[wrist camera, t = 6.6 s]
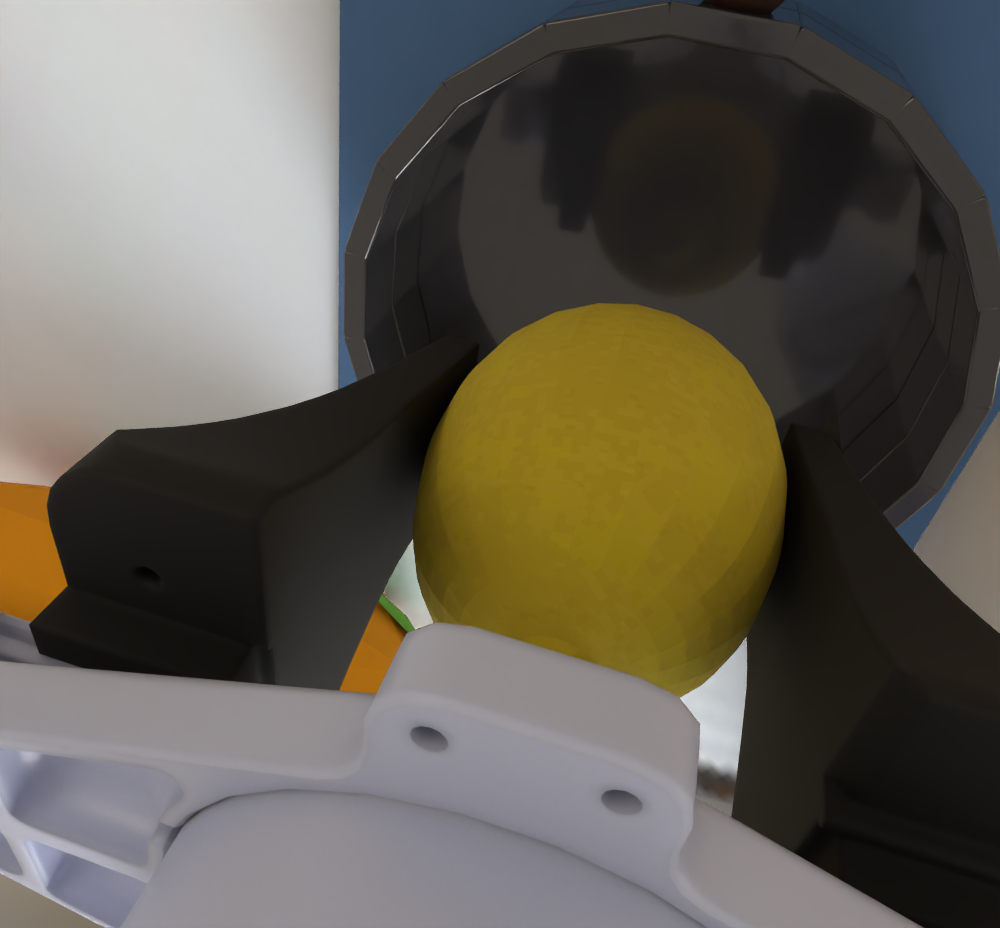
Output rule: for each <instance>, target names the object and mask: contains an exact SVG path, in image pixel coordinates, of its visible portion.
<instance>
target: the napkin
mask: <svg viewBox="0 0 1000 928" xmlns="http://www.w3.org/2000/svg"><path fill="white" fill-rule="evenodd" d="M576 1H578V0H340V125H339V382H338V389H340V388H343V387H345V386H347V385H349V384H352V383H354V382H356V381H357V378H356V375H355V372H354V369H353V365H352V362H351V359H350V356H349V353H348V349H347V346H346V343H345V336H344V252H345V247H346V244H347V241H348V238H349V236H350V233H351V230H352V227H353V224H354V222H355V219H356V216H357V213H358V210H359V207H360V205H361V202H362V199H363V196H364V193H365V191H366V188H367V185H368V182H369V179H370V177H371V174H372V171H373V168H374V165H375V163H376V162H377V160H378V158H379V157H380V156H381V154H382V153H383V152H384V151H385V150H386V148H387V147H388V146H389V145H390V144H391V142H392V141H393V140H394V139H395V137H396V136H397V135H398V134H399V133H400V131H401V130H402V129H403V128H404V127H405V125H406V124H407V123H408V122H409V121H410V119H411V118H412V117H413V116H414V115H415V113H416V112H417V111H418V110H419V109H420V107H421V106H422V105H423V104H424V102H425V101H426V100H427V99H428V98H429V96H430V95H431V94H432V93H433V92H434V90H435V89H436V88H437V87H438V86H439V84H440V83H442V82H443V81H444V80H445V79H446V78H448V77H449V76H451V75H453V74H454V73H456V72H458V71H459V70H461V69H463V68H464V67H466V66H467V65H469V64H471V63H472V62H474V61H476V60H477V59H479V58H481V57H482V56H484V55H486V54H487V53H489V52H490V51H492V50H494V49H495V48H497V47H499V46H501V45H502V44H504V43H506V42H507V41H509V40H511V39H513V38H514V37H516V36H518V35H520V34H521V33H523V32H525V31H526V30H528V29H530V28H532V27H533V26H535V25H537V24H538V23H540V22H542V21H544V20H545V19H547V18H549V17H551V16H552V15H554V14H556V13H557V12H559V11H561V10H563V9H564V8H566V7H568V6H570V5H571V4H573V3H575V2H576ZM796 1H797V2H798V1H801V2H802V3H804V4H806V5H807V6H809V7H810V8H812V9H814V10H815V11H817V12H818V13H820V14H822V15H823V16H825V17H828V18H829V19H831V20H832V21H834V22H836V23H837V24H839V25H840V26H842V27H843V28H845V29H846V30H848V31H850V32H851V33H853V34H854V35H856V36H857V37H859V38H860V39H862V40H864V41H865V42H867V43H868V44H870V45H872V46H873V47H875V48H876V49H878V50H880V51H881V52H883V53H884V54H886V55H888V56H889V58H890V59H891V60H893V61H894V63H895V64H896V65H897V67H898V68H899V69H900V71H901V72H902V74H903V75H904V76H905V78H906V79H907V81H908V82H909V83H910V85H911V86H912V88H913V89H914V90H915V92H916V93H917V94H918V96H919V97H920V99H921V100H922V101H923V103H924V104H925V106H926V107H927V108H928V110H929V111H930V113H931V114H932V115H933V117H934V118H935V119H936V121H937V122H938V124H939V125H940V126H941V128H942V129H943V131H944V132H945V133H946V135H947V136H948V138H949V139H950V140H951V142H952V143H953V145H954V146H955V148H956V149H957V151H958V152H959V154H960V155H961V157H962V158H963V160H964V161H965V163H966V164H967V166H968V167H969V169H970V170H971V172H972V173H973V175H974V176H975V178H976V179H977V181H978V182H979V184H980V185H981V187H982V188H983V190H984V191H985V195H986V196H987V198H988V201H989V206H990V211H991V215H992V220H993V224H994V229H995V233H996V238H997V242H998V247H999V251H1000V0H796ZM999 410H1000V369H999V374H998V379H997V385H996V390H995V395H994V401H993V405H992V407H991V411H990V412H989V414H988V416H987V417H986V419H985V420H984V422H983V424H982V425H981V427H980V429H979V430H978V432H977V433H976V435H975V437H974V438H973V440H972V442H971V443H970V445H969V446H968V448H967V450H966V451H965V453H964V455H963V456H962V458H961V459H960V461H959V463H958V464H957V466H956V468H955V469H954V471H953V472H952V474H951V476H950V477H949V479H948V481H947V482H946V484H945V485H944V487H943V489H942V490H941V491H939V493H938V495H936V496H935V497H934V498H933V499H932V500H930V501H929V502H928V503H927V504H926V505H925V506H923V507H922V508H921V509H920V510H919V511H917V512H916V513H915V514H914V515H913V516H911V517H910V518H909V519H908V520H907V521H905V522H904V523H903V524H902V525H901V526H899V527H898V528H897V529H896V531H897V532H898V533H899V535H900V536H901V537H902V538H903V539H904V541H905V542H906V543H907V544H908V546H909V547H910V548H911V549H912V550H913V548H914V547H915V545H916V543H917V542H918V540H919V539H920V537H921V535H922V534H923V532H924V531H925V529H926V527H927V526H928V524H929V522H930V521H931V519H932V518H933V516H934V514H935V513H936V511H937V510H938V508H939V506H940V505H941V503H942V502H943V500H944V498H945V497H946V495H947V494H948V492H949V490H950V489H951V487H952V486H953V484H954V482H955V481H956V479H957V478H958V476H959V474H960V473H961V471H962V470H963V468H964V466H965V465H966V463H967V462H968V460H969V458H970V457H971V455H972V453H973V452H974V450H975V449H976V447H977V445H978V444H979V442H980V441H981V439H982V437H983V436H984V434H985V433H986V431H987V429H988V428H989V426H990V425H991V423H992V421H993V420H994V418H995V417H996V415H997V413H998V412H999Z"/></svg>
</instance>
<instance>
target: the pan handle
mask: <svg viewBox="0 0 1000 928" xmlns="http://www.w3.org/2000/svg"><path fill="white" fill-rule="evenodd" d="M705 1H706V2H707V3H710V4H712V5H716V6H719V7H723V8H727V9H732V10H737V11H743V12H749V13H759V14H768V13H771V12H773V11H774V10H775V9H777V8H778V7H779V6H780V5H781V4H783V2H784V1H785V0H705Z"/></svg>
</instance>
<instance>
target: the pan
mask: <svg viewBox="0 0 1000 928" xmlns="http://www.w3.org/2000/svg"><path fill="white" fill-rule="evenodd" d="M597 303H610V304H638V305H642V306H645V307H649V308H653V309H656V310H660V311H664V312H667V313H671V314H675V315H677V316H679V317H680V318H682V319H684V320H686V321H688V322H689V323H691V324H693V325H695V326H697V327H698V328H700V329H702V330H704V331H706V332H707V333H709V334H710V335H712V336H713V337H714V338H715V339H716V340H717V341H718V342H719V343H720V344H722V345H723V346H724V347H725V348H726V349H727V350H728V351H729V352H730V353H731V354H732V355H733V356H734V357H736V358H737V359H738V360H739V361H740V362H741V363H742V364H743V365H744V367H745V368H746V370H747V372H748V373H749V375H750V376H751V378H752V380H753V381H754V383H755V384H756V386H757V388H758V389H759V391H760V393H761V394H762V396H763V397H764V399H765V401H766V402H767V404H768V405H769V407H770V410H771V413H772V415H773V418H774V421H775V425H776V429H777V433H778V437H779V441H780V445H782V443H783V440H784V438H785V436H786V433H787V431H788V429H789V427H790V424H791V423H794V424H798V425H802V426H806V427H810V428H814V429H818V430H822V431H825V432H828V433H829V435H830V436H831V437H832V439H833V440H834V442H835V443H836V445H837V446H838V448H839V449H840V451H841V452H842V454H843V456H844V457H845V459H846V460H847V462H848V463H849V465H850V466H851V468H852V469H853V471H854V472H855V474H856V476H857V477H858V479H859V480H860V482H861V483H862V485H863V486H864V487H865V489H866V490H867V492H868V493H869V495H870V496H871V498H872V499H873V500H874V502H875V503H876V505H877V506H878V507H879V509H880V510H881V511H882V513H883V514H884V515H885V517H886V518H887V519H888V521H889V522H890V523H891V525H892V526H893V527H894V528H895V530H896V529H897V528H898V527H899V526H901V525H902V524H903V523H904V522H905V521H907V520H908V519H909V518H910V517H911V516H913V515H914V514H915V513H916V512H917V511H919V510H920V509H921V508H922V507H923V506H925V505H926V504H927V503H928V502H929V501H930V500H932V499H933V498H934V497H935V496H936V495H938V493H939V491H941V490H942V489H943V487H944V485H945V484H946V482H947V481H948V479H949V477H950V476H951V474H952V472H953V471H954V469H955V468H956V466H957V464H958V463H959V461H960V459H961V458H962V456H963V455H964V453H965V451H966V450H967V448H968V446H969V445H970V443H971V442H972V440H973V438H974V437H975V435H976V433H977V432H978V430H979V429H980V427H981V425H982V424H983V422H984V420H985V419H986V417H987V416H988V414H989V412H990V411H991V407H992V405H993V401H994V395H995V390H996V385H997V379H998V374H999V369H1000V251H999V247H998V242H997V238H996V233H995V229H994V224H993V220H992V215H991V211H990V206H989V201H988V198H987V196H986V195H985V191H984V190H983V188H982V187H981V185H980V184H979V182H978V181H977V179H976V178H975V176H974V175H973V173H972V172H971V170H970V169H969V167H968V166H967V164H966V163H965V161H964V160H963V158H962V157H961V155H960V154H959V152H958V151H957V149H956V148H955V146H954V145H953V143H952V142H951V140H950V139H949V138H948V136H947V135H946V133H945V132H944V131H943V129H942V128H941V126H940V125H939V124H938V122H937V121H936V119H935V118H934V117H933V115H932V114H931V113H930V111H929V110H928V108H927V107H926V106H925V104H924V103H923V101H922V100H921V99H920V97H919V96H918V94H917V93H916V92H915V90H914V89H913V88H912V86H911V85H910V83H909V82H908V81H907V79H906V78H905V76H904V75H903V74H902V72H901V71H900V69H899V68H898V67H897V65H896V64H895V63H894V61H893V60H891V59H890V58H889V56H888V55H886V54H884V53H883V52H881V51H880V50H878V49H876V48H875V47H873V46H872V45H870V44H868V43H867V42H865V41H864V40H862V39H860V38H859V37H857V36H856V35H854V34H853V33H851V32H850V31H848V30H846V29H845V28H843V27H842V26H840V25H839V24H837V23H836V22H834V21H832V20H831V19H829V18H828V17H825V16H823V15H822V14H820V13H818V12H817V11H815V10H814V9H812V8H810V7H809V6H807V5H806V4H804V3H802V2H801V1H798V2H797V1H796V0H785V1H784V2H783V4H781V5H780V6H779V7H778V8H777V9H775V10H774V11H773V12H771V13H768V14H759V13H749V12H743V11H737V10H732V9H727V8H723V7H719V6H716V5H712V4H710V3H707V2H706V1H705V0H578V1H576V2H575V3H573V4H571V5H570V6H568V7H566V8H564V9H563V10H561V11H559V12H557V13H556V14H554V15H552V16H551V17H549V18H547V19H545V20H544V21H542V22H540V23H538V24H537V25H535V26H533V27H532V28H530V29H528V30H526V31H525V32H523V33H521V34H520V35H518V36H516V37H514V38H513V39H511V40H509V41H507V42H506V43H504V44H502V45H501V46H499V47H497V48H495V49H494V50H492V51H490V52H489V53H487V54H486V55H484V56H482V57H481V58H479V59H477V60H476V61H474V62H472V63H471V64H469V65H467V66H466V67H464V68H463V69H461V70H459V71H458V72H456V73H454V74H453V75H451V76H449V77H448V78H446V79H445V80H444V81H443V82H442V83H440V84H439V86H438V87H437V88H436V89H435V90H434V92H433V93H432V94H431V95H430V96H429V98H428V99H427V100H426V101H425V102H424V104H423V105H422V106H421V107H420V109H419V110H418V111H417V112H416V113H415V115H414V116H413V117H412V118H411V119H410V121H409V122H408V123H407V124H406V125H405V127H404V128H403V129H402V130H401V131H400V133H399V134H398V135H397V136H396V137H395V139H394V140H393V141H392V142H391V144H390V145H389V146H388V147H387V148H386V150H385V151H384V152H383V153H382V154H381V156H380V157H379V158H378V160H377V162H376V163H375V165H374V168H373V171H372V174H371V177H370V179H369V182H368V185H367V188H366V191H365V193H364V196H363V199H362V202H361V205H360V207H359V210H358V213H357V216H356V219H355V222H354V224H353V227H352V230H351V233H350V236H349V238H348V241H347V244H346V247H345V252H344V336H345V343H346V346H347V349H348V353H349V356H350V359H351V362H352V365H353V369H354V372H355V375H356V378H357V381H358V380H361V379H363V378H365V377H367V376H369V375H372V374H374V373H376V372H378V371H380V370H382V369H384V368H386V367H388V366H390V365H392V364H394V363H396V362H398V361H400V360H402V359H403V358H405V357H407V356H409V355H411V354H413V353H415V352H417V351H418V350H420V349H422V348H424V347H426V346H427V345H429V344H431V343H433V342H435V341H437V340H439V339H441V338H443V337H445V336H447V335H449V336H453V337H457V338H460V339H464V340H468V341H472V342H476V343H480V344H479V352H478V360H477V365H478V364H479V363H480V362H481V361H482V360H483V359H484V358H486V357H487V356H488V355H489V354H490V353H491V352H492V351H493V350H494V349H495V348H497V347H498V346H499V345H500V344H501V343H502V342H503V341H504V340H506V339H507V338H508V337H509V336H510V335H511V334H513V333H515V332H516V331H518V330H520V329H522V328H524V327H526V326H528V325H530V324H532V323H534V322H536V321H538V320H540V319H542V318H544V317H546V316H548V315H550V314H552V313H554V312H558V311H563V310H568V309H573V308H578V307H582V306H587V305H592V304H597Z"/></svg>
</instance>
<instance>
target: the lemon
mask: <svg viewBox="0 0 1000 928" xmlns="http://www.w3.org/2000/svg"><path fill="white" fill-rule="evenodd" d="M786 496H787V474H786V466H785V462H784V457H783V453H782V449H781V445H780V441H779V437H778V433H777V429H776V425H775V421H774V418H773V415H772V413H771V410H770V407H769V405H768V404H767V402H766V401H765V399H764V397H763V396H762V394H761V393H760V391H759V389H758V388H757V386H756V384H755V383H754V381H753V380H752V378H751V376H750V375H749V373H748V372H747V370H746V368H745V367H744V365H743V364H742V363H741V362H740V361H739V360H738V359H737V358H736V357H734V356H733V355H732V354H731V353H730V352H729V351H728V350H727V349H726V348H725V347H724V346H723V345H722V344H720V343H719V342H718V341H717V340H716V339H715V338H714V337H713V336H712V335H710V334H709V333H707V332H706V331H704V330H702V329H700V328H698V327H697V326H695V325H693V324H691V323H689V322H688V321H686V320H684V319H682V318H680V317H679V316H677V315H675V314H671V313H667V312H664V311H660V310H656V309H653V308H649V307H645V306H642V305H638V304H610V303H597V304H592V305H587V306H582V307H578V308H573V309H568V310H563V311H558V312H554V313H552V314H550V315H548V316H546V317H544V318H542V319H540V320H538V321H536V322H534V323H532V324H530V325H528V326H526V327H524V328H522V329H520V330H518V331H516V332H515V333H513V334H511V335H510V336H509V337H508V338H507V339H506V340H504V341H503V342H502V343H501V344H500V345H499V346H498V347H497V348H495V349H494V350H493V351H492V352H491V353H490V354H489V355H488V356H487V357H486V358H484V359H483V360H482V361H481V362H480V363H479V364H478V365H477V366H476V367H475V368H474V369H473V370H472V371H471V372H470V373H469V375H468V376H467V377H466V378H465V380H464V381H463V383H462V384H461V386H460V387H459V389H458V390H457V392H456V394H455V395H454V397H453V399H452V401H451V402H450V404H449V406H448V407H447V409H446V411H445V412H444V414H443V416H442V417H441V419H440V421H439V423H438V425H437V427H436V429H435V431H434V433H433V436H432V438H431V441H430V444H429V446H428V450H427V454H426V457H425V461H424V465H423V470H422V475H421V479H420V484H419V489H418V493H417V498H416V504H415V510H414V518H413V544H414V555H415V563H416V572H417V579H418V582H419V586H420V589H421V593H422V596H423V598H424V601H425V603H426V605H427V608H428V610H429V613H430V615H431V617H432V620H433V622H434V623H448V624H457V625H465V626H474V627H478V628H481V629H484V630H487V631H491V632H494V633H497V634H501V635H504V636H507V637H510V638H514V639H517V640H520V641H523V642H527V643H530V644H533V645H537V646H540V647H543V648H546V649H550V650H553V651H556V652H559V653H563V654H566V655H569V656H573V657H576V658H579V659H582V660H586V661H589V662H592V663H596V664H599V665H602V666H605V667H609V668H612V669H615V670H618V671H622V672H625V673H628V674H632V675H635V676H638V677H641V678H643V679H645V680H647V681H649V682H651V683H653V684H655V685H657V686H659V687H661V688H663V689H665V690H667V691H669V692H671V693H673V694H675V695H676V696H678V697H679V698H680V697H682V696H683V695H685V694H687V693H689V692H690V691H692V690H694V689H696V688H697V687H699V686H701V685H702V684H703V683H704V682H705V681H707V680H708V679H709V678H710V677H711V676H712V675H713V674H714V673H715V672H716V671H717V670H718V669H719V668H720V667H721V666H722V665H723V664H724V663H725V662H726V661H727V660H728V659H729V658H730V657H731V656H732V654H733V653H734V652H735V651H736V650H737V649H738V647H739V646H740V645H741V643H742V642H743V640H744V639H745V638H746V636H747V635H748V633H749V631H750V629H751V627H752V625H753V623H754V621H755V619H756V617H757V614H758V612H759V610H760V608H761V605H762V603H763V601H764V598H765V596H766V594H767V592H768V589H769V587H770V584H771V582H772V579H773V577H774V574H775V572H776V568H777V565H778V561H779V558H780V555H781V549H782V544H783V539H784V525H785V511H786Z"/></svg>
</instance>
